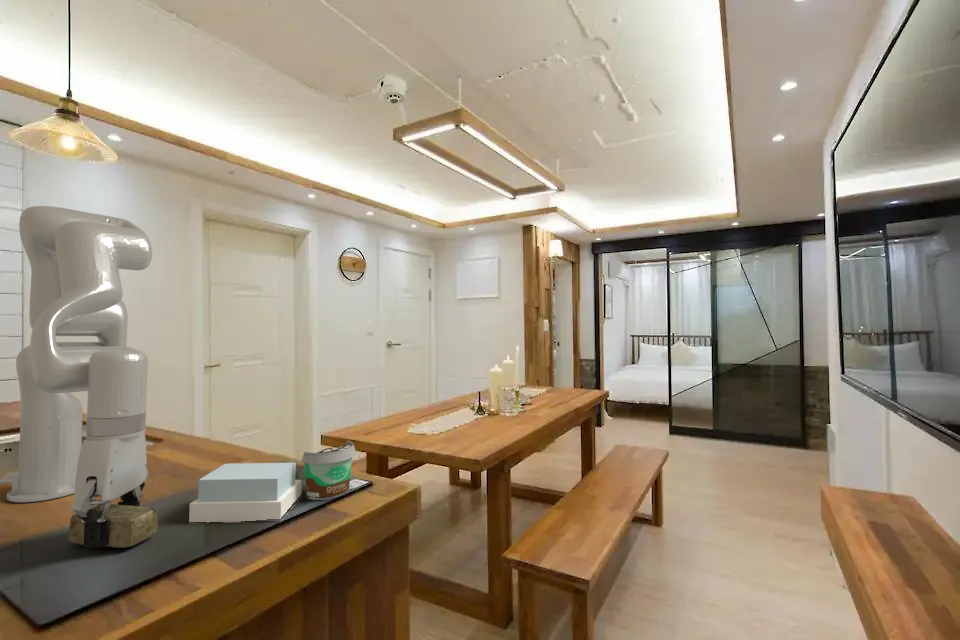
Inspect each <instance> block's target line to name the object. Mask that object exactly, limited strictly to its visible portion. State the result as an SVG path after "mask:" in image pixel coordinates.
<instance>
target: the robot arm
mask: <svg viewBox="0 0 960 640" xmlns="http://www.w3.org/2000/svg"><path fill="white" fill-rule="evenodd" d="M20 214H21V215H20V216H19V222H18V223H19V225H18V226H19V227H18V228H19V236H20V237H19V238H20V241H21V244H22V246H23V249H24V252H25V254H26V256H27V259H28V261H29V265H30V271H31V272H30V273H31V274H30V275H31V276H30V293H29V307H28V308H29V309H28V311H29V312H28V313H29V314H28V315H29V316H28V318H29V325H30V328H31V329H32V331H31V335H30V341H29V342H30V345H27V346H26V347H24V348H23V349H21V350H20V351H19V352H18V354H17V356H16V361H15V366H16V367H15V368H16V373H17V379H18V386H19V392H20V393H19V395H20V418H19V419H20V423H19V447H18V448H19V451H18V471H16V472H14V471H12V472H11V471H10V472H6V473H5V474H4V476H3V477H2V478H0V485H11V489H10V490H9V491H7V492H6V500H7V501H9V502H11V503H34V502H41V501H48V500H54V499H58V498H62V497H65V496H70V495H74V503H73V505H72V506H71V510H72V512H74V513H75V514H77V515H78V517H79V518H80V519H81V522H82V523H84V545H83V547H84V548H87V549H88V548H89V549H90V548H106V547H105V546H107V545H108V542H109V520H106V517H107V514H108V510H109V507H110V504H112V502H113V501H115V500H117V499H118V498H119V499H120V500H121V501H118V502H117V505H130V506H141V505H140V504H141V500H142V498H143V489H144V487H145V485H146V480H147V479H148V476H149V475H150V471H149V470H148V468H147V463H148V462H147V461H148V460H147V459H148V458H147V456H148V455H147V442H146V440H147V439H146V434H145V433H146V423H147V420H146V419H147V394H148V393H147V391H148V369H149V368H148V367H149V366H148V365H149V363H148V361H149V360H148V359H149V358H148V356H147V354H146V353H145V352H144V351H140V350H137V349H135V348H133V347H131V346H130V347H129V346H127V339H128V338H127V337H128V321H129V320H128V319H129V318H128V310H127V306H126V304H125V302H124V301H123V300H122V299H123V294H124V293H123V287H122V282H121V277H120V276H121V275H120V270H126V271H127V270H128V271H144V270H146V269H147V268H148V267H149V266H150V264H151V262H152V259H153V247H152V243H151V241H150V238H149V236H148V235H147V233H146V231H143V230H142V229H141V228H140V227H139V226H137V225H136V224H134V223H133V222H131V221H130V220H127V219H124V218H120V217H116V216H109V215H103V214H99V213H93V212H87V211H82V210H77V209H76V210H75V209H70V208H67V207H66V208H63V207H58V206H57V207H56V206H47V205H33V206H29V207H27V208H25V209H23V211H22V213H20ZM56 337H96V338H97V339H98V341H85V342H84V341H82V342H80V341H79V342H78V341H67V342H66V341H60V342H59V341H58V342H57V338H56ZM78 392H87V405H86V407H87V408H86V410H87V411H86V412H87V413H86V424H85V425H86V426H85V427H86V428H85V439H84V440H83V437H82V436H83V419H84V418H83V413H84V412H83V411H84V410H83V404H82V403H81V401H80V400H79V398H77V396H75V395H74V394H73V393H78ZM97 497H101V499H97ZM97 505H101V508H100V512H98V511H97V510H96V509H94V507H95V506H97Z"/></svg>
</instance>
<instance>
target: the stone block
mask: <svg viewBox="0 0 960 640" xmlns="http://www.w3.org/2000/svg"><path fill="white" fill-rule="evenodd" d="M100 508H101V505H95V507H94V509H96V510H97V511H98V512H100ZM106 520H109V542H108V545H107V546H105V547H104V548H107V547H108V548H129V547H133V546H135V545H138V544H140V543H141V542H143V541H146V540H148V539H149V538H151V537H152V536H153V535H155V534H156V532H157V531H158V512H157V511H156V509H154V508H153V507H151V506H141V505H140V506H130V505H118V504H115V503H114V504H112V503H111V504H110V507H109V510H108V514H107V517H106ZM67 542H70V543H72V544H75V545H81V546H84V523H82V522H81V519H80V518H79V517H78V515H77V514H76V513H75V514H72V515H71V518H70V523H69V529H68V532H67Z"/></svg>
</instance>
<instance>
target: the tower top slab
mask: <svg viewBox="0 0 960 640" xmlns="http://www.w3.org/2000/svg"><path fill="white" fill-rule="evenodd" d="M296 469H297V463H296V462H262V463H261V462H254V463H253V462H252V463H251V462H250V463H245V462H244V463H243V462H242V463H237V462H236V463H224V464H222V465H221V466H219V467H217V468H215V469H214V470H213V471H211V472H209V473H207V474H206V475H204V476H202V477H201V478H199V479H198V488H197V489H198V491H197V493H198V494H197V498H198V502H223V501H277V500H278V499H279V498H280V497H281V496H282V495H283V494H284V493H285V492H286V491H287V490H288V489H289V488H290V487H291V486H292V485H293V484H294V483H295V480H296Z"/></svg>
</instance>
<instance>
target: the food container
mask: <svg viewBox="0 0 960 640" xmlns="http://www.w3.org/2000/svg"><path fill="white" fill-rule="evenodd" d="M355 456H356V449H355V446H354V443H353V441H350V440H346V443H345V444H344V445H340V446H336V447H327V448H324V449H321V450H320V451H317V452H310V451H309V452H308V451H303V455H302V459H301V463H302V464H303V463H304V474H305V487H306V489H305V491H306V497H307V496H308V497H315V498H326V497H332V496H336V495H339V494H342V493H344V492H346V491H347V490H348V489H349V490H350V483H351V474H352V466H353V465H352V463H353V457H355Z"/></svg>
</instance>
